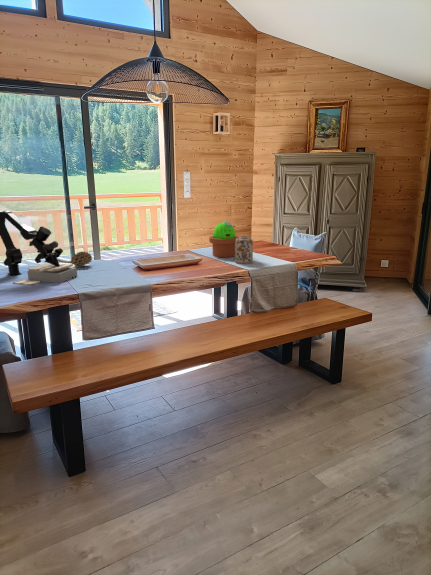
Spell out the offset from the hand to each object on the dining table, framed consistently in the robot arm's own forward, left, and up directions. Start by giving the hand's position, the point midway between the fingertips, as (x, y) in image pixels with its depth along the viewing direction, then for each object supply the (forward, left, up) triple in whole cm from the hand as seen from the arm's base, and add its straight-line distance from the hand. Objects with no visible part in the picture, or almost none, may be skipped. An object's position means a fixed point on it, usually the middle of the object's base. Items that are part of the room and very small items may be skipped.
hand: (58, 266), depth 240 cm
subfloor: (-4, -2, -7) cm, 9 cm away
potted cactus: (+15, +117, -8) cm, 118 cm away
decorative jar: (+40, +112, -8) cm, 119 cm away
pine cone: (-23, +19, -8) cm, 31 cm away
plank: (-3, -18, -8) cm, 20 cm away
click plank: (-2, -1, -2) cm, 3 cm away
